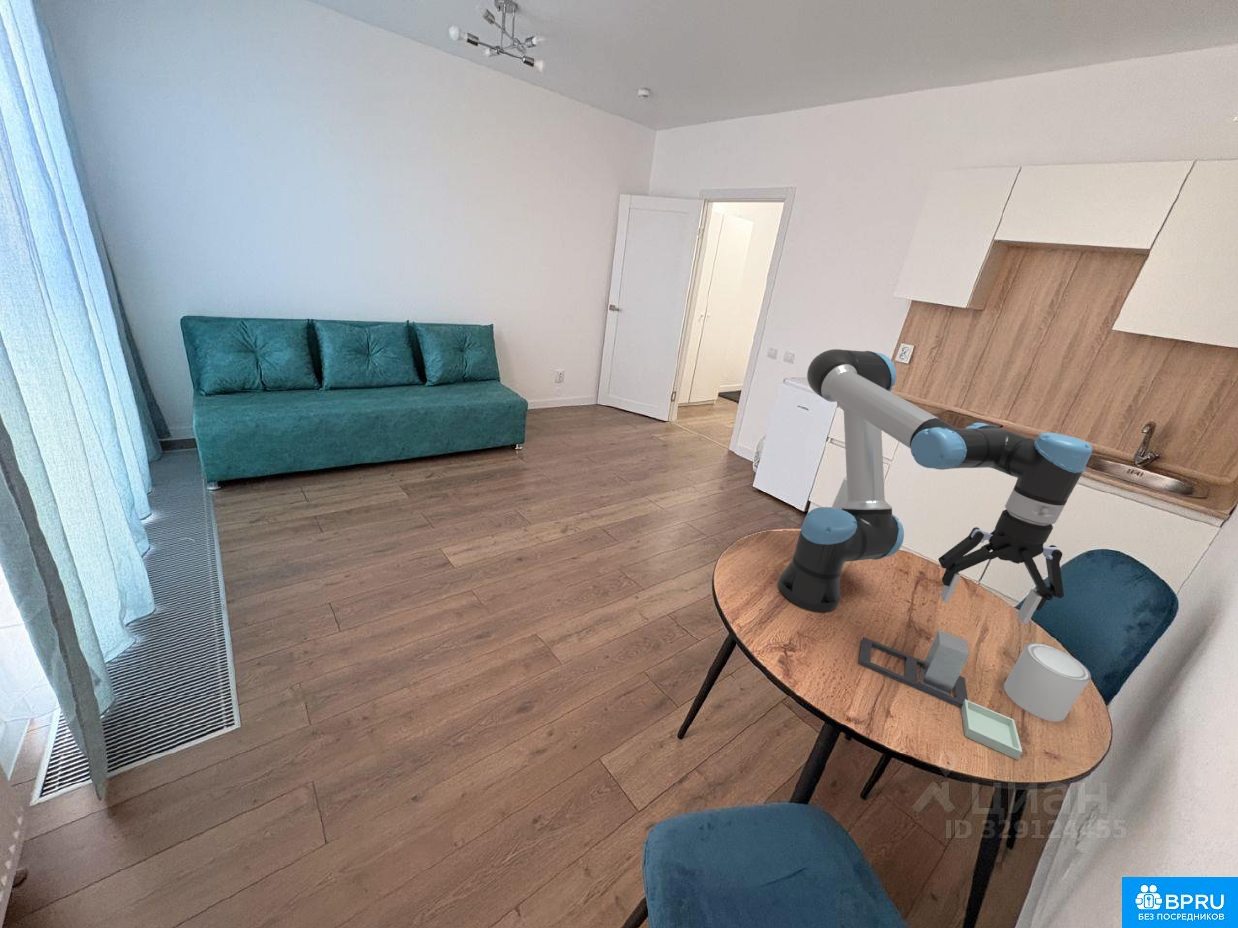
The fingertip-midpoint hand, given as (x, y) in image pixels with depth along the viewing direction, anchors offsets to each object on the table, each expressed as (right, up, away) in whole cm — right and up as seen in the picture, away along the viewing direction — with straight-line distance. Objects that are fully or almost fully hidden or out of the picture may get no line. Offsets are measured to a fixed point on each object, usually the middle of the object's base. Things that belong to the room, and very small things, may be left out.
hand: (982, 609), depth 95 cm
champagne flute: (-7, +2, +52) cm, 53 cm away
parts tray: (-3, -21, -6) cm, 22 cm away
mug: (+14, -20, +4) cm, 24 cm away
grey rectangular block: (-7, -17, +4) cm, 19 cm away
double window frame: (-11, -16, +6) cm, 20 cm away
